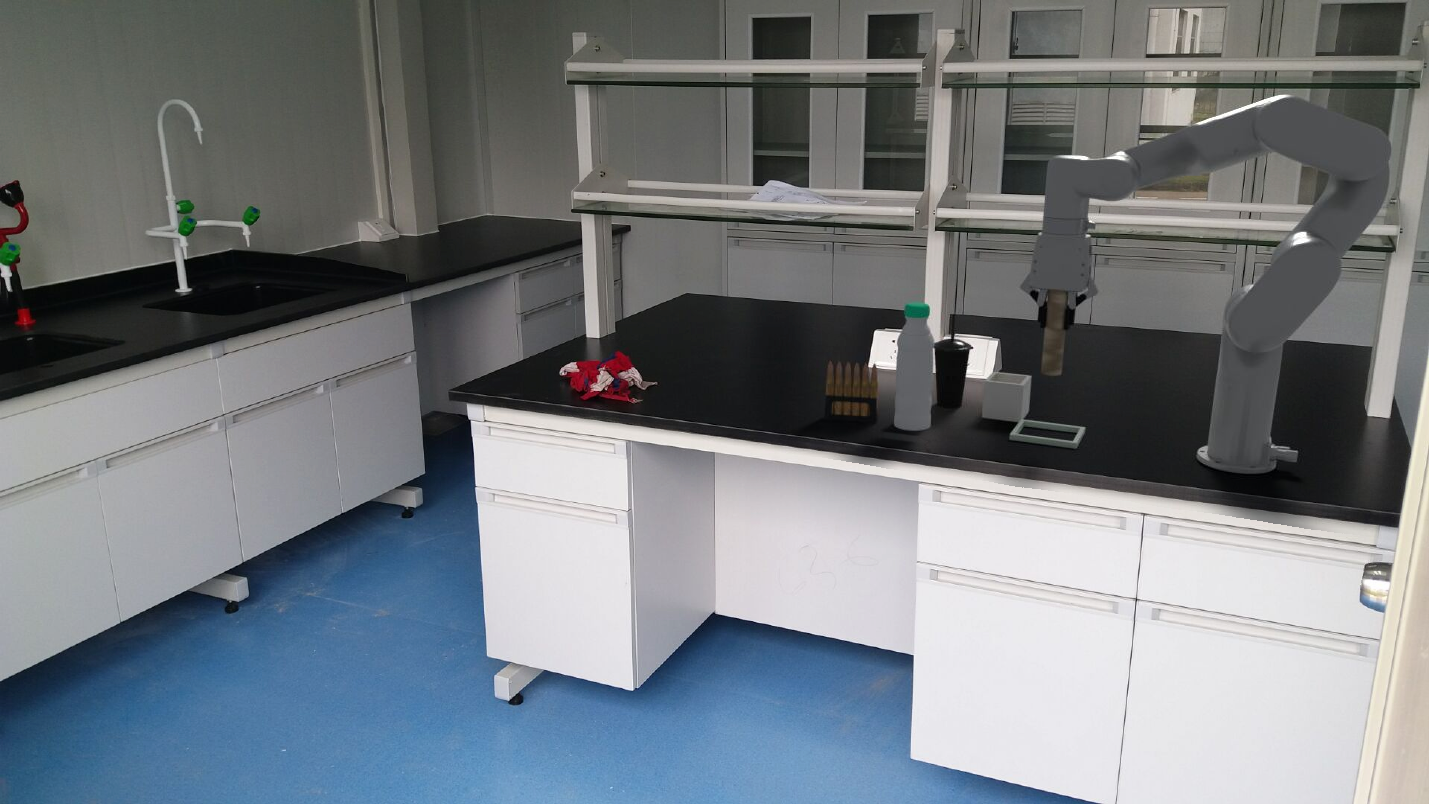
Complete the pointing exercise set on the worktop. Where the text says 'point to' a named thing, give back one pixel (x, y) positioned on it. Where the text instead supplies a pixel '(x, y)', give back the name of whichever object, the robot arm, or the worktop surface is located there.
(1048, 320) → the dowel
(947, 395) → the drinking cup
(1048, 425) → the tray
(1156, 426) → the worktop surface
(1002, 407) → the holder
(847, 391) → the ammunition clip
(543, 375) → the worktop surface
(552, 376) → the worktop surface
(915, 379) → the water bottle
